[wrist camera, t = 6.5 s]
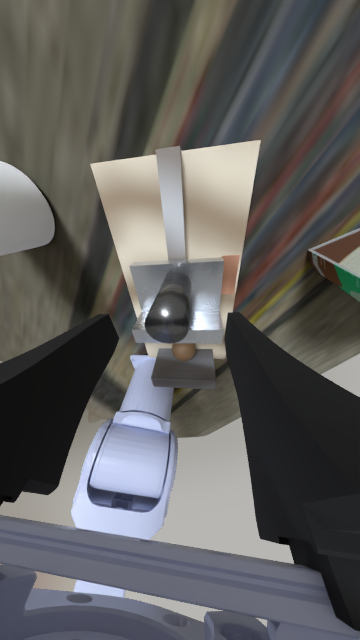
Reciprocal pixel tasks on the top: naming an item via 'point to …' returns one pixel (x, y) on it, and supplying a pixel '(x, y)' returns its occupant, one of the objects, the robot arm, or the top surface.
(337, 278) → the food container
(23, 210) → the can
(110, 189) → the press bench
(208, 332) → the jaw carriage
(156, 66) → the top surface
